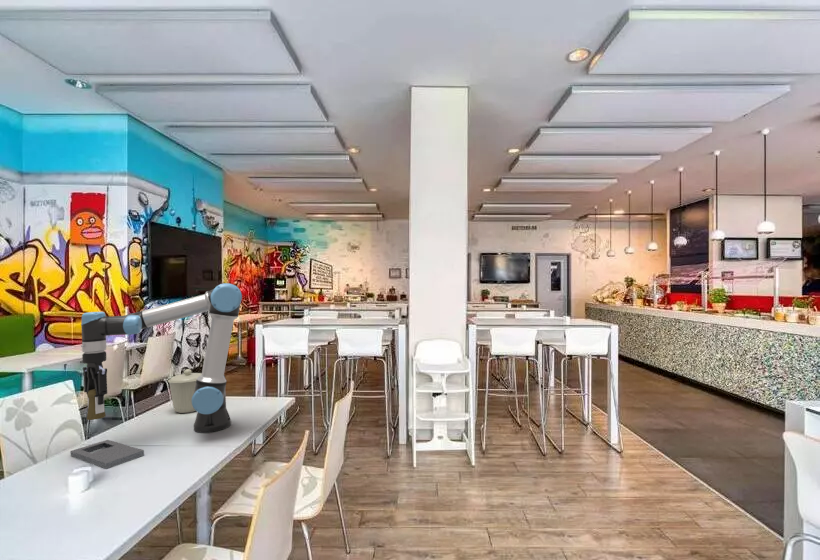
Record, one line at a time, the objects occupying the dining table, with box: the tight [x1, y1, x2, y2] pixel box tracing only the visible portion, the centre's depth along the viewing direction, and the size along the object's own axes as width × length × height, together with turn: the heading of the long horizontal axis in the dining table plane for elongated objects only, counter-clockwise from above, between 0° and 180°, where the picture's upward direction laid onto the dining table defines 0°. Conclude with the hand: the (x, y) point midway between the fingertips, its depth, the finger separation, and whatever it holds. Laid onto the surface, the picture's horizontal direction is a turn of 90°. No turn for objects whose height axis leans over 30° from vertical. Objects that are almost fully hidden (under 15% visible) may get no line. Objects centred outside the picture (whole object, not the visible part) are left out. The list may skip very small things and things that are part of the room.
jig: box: [70, 439, 145, 470], centre depth 165 cm, size 26×13×2 cm, turn 60°
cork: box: [86, 389, 107, 421], centre depth 169 cm, size 6×6×11 cm
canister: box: [167, 368, 202, 414], centre depth 223 cm, size 18×18×21 cm
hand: (96, 411), depth 169 cm, fingers closed on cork, 5 cm apart
